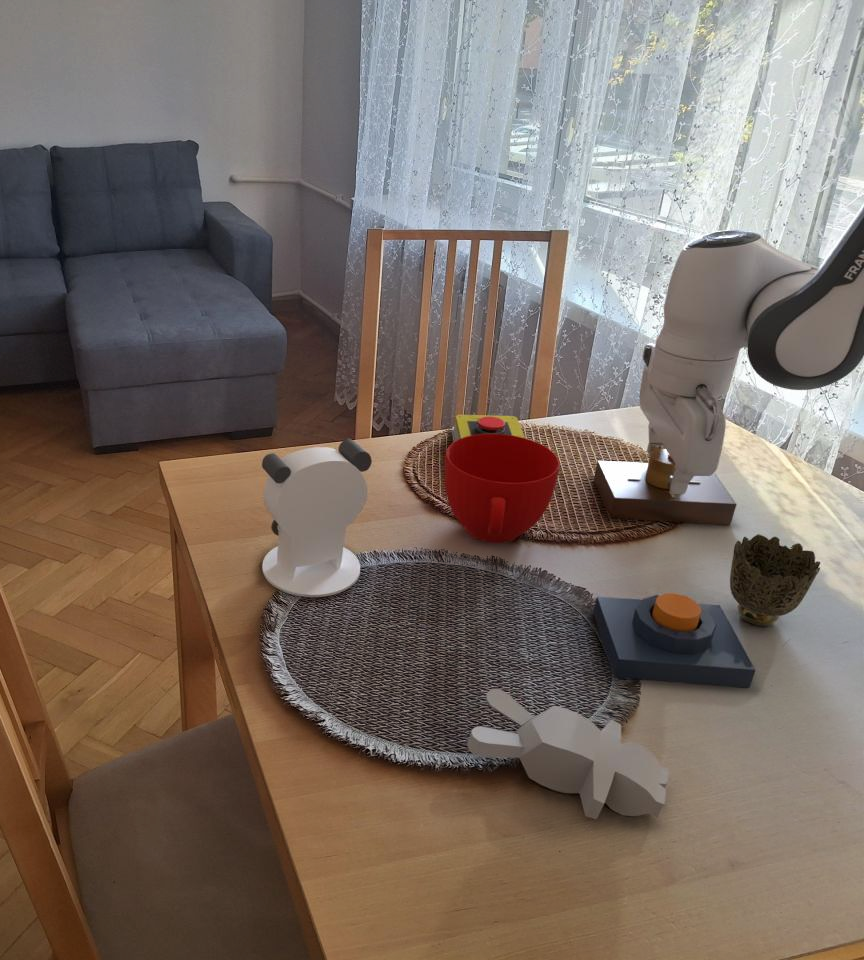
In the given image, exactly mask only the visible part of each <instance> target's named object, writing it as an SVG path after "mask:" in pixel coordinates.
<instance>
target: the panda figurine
mask: <svg viewBox="0 0 864 960" xmlns="http://www.w3.org/2000/svg"><path fill="white" fill-rule="evenodd" d="M372 461H373V460H372V456H371V455H370V453H369V452H367V451H366V450H365V449H364V448H363V446H361V445H359V443H357V442H356V441H355V440H353V439H351V438H345V439H343V440H342V441H341V442H340V444H339V445H338V449H335V448H333V447H327V446H315V447H313V446H312V447H308V448H303V449H299V450H296V451H293V452H291V453H288V454H286V455H284V456H283V457H280V456H279V455H278V454H276V453H268V454H266V455H265V456H263V458H262V461H261V468H262V469H263V470H264V471H265V472H266V474H267V475H268V476H267V477H266V480H265V483H264V488H263V502H264V506H265V509H266V510H267V512H268V514H269V515H270V516H271V517H272V519H273V521H272V522H271V528H270V529H271V531H272V533H273V534H274V535H275V536H277V545H276V546H275V547H273V548H272V549H271V550H270V551H269V552H267V553H266V555H265V556H264V558H263V560H262V565H261V567H262V568H261V569H262V574H263V576H264V578H265V580H266V581H267V582H268V583H269V584H270V585H272V587H274V588H275V589H276V590H277V589H278V590H279V591H281V592H283V593H285V594H288V595H293V596H297V597H303V598H325V597H330V596H333V595H337V594H340V593H343V592H344V591H346V590H348V589H350V588H351V587H352V586H353V585H355V584H356V583H357V582H358V579H359V578H360V575H361V564H360V561H359V559H358V557H357V556H356V555H355V554H354V552H352V551H351V550H349V548H347V547H345V546H344V545H345V540H346V539H345V538H346V532H347V528H348V527H349V526H350V525H351V524H352V523H353V522H354V521H355V520H356V519H357V518H358V516H359V515H360V514H361V512H362V511H363V509H364V507H365V505H366V502H367V499H368V485H367V481H366V480H365V477H364V475H363V473H364V472H366V471H368V470H369V469H370V467H371V466H372Z"/></svg>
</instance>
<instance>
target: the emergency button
mask: <svg viewBox="0 0 864 960" xmlns="http://www.w3.org/2000/svg"><path fill="white" fill-rule="evenodd" d="M478 434H505V435H513V436H517V437H522V438H526V436H525V433H524V431H523V429H522V426H521V424H520V421H519V418H518V417H517V416H515V415H492V414H489V415H488V414H458V415H455V420H454V425H453V426H452V428H451V436H452V440H453V442H455V441H456V440H458V439H461V438H463V437H467V436H471V435H478Z"/></svg>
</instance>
